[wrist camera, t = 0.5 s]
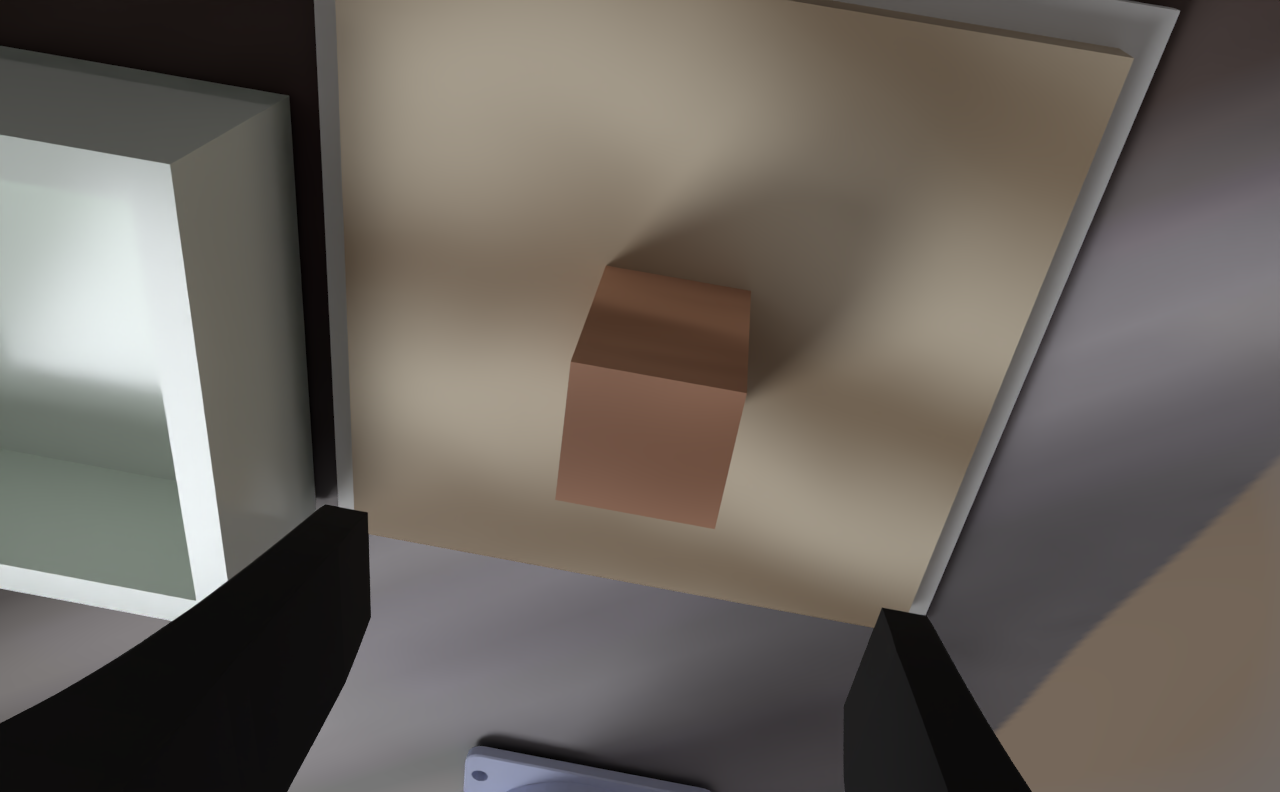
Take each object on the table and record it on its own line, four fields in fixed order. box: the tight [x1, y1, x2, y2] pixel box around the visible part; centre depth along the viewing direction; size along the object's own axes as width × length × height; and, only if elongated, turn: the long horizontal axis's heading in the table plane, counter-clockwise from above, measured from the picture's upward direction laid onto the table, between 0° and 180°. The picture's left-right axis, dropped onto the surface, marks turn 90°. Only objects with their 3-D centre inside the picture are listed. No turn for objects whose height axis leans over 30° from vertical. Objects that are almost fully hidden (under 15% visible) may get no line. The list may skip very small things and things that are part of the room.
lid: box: [335, 0, 1134, 628], centre depth 18 cm, size 14×14×5 cm
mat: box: [314, 0, 1180, 615], centre depth 21 cm, size 16×16×1 cm
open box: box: [0, 46, 316, 621], centre depth 20 cm, size 11×11×4 cm
